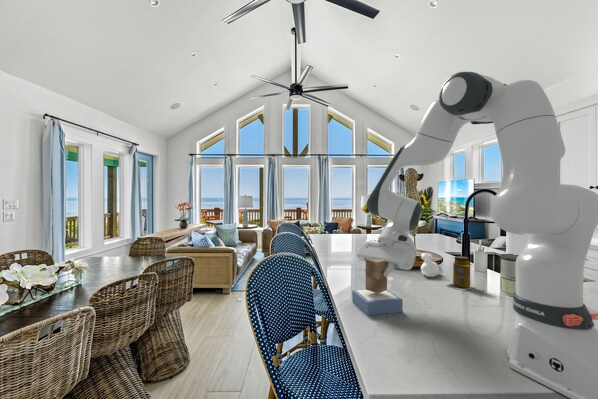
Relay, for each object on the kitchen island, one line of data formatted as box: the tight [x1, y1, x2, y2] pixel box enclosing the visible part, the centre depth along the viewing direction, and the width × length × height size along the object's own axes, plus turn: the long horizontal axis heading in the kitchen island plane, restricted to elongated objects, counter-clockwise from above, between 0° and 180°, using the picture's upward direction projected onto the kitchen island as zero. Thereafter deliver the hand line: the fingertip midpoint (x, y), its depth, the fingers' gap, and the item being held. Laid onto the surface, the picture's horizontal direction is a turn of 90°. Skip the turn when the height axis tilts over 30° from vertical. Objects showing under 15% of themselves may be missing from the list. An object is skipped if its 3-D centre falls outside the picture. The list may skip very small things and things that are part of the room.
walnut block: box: [365, 258, 388, 293], centre depth 95 cm, size 5×5×10 cm
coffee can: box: [499, 253, 518, 298], centre depth 106 cm, size 10×10×14 cm
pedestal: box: [351, 288, 404, 316], centre depth 95 cm, size 12×12×4 cm
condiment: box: [445, 255, 475, 291], centre depth 115 cm, size 7×8×12 cm
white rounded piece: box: [420, 252, 440, 278], centre depth 133 cm, size 12×8×11 cm
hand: (375, 274), depth 94 cm, fingers closed on walnut block, 5 cm apart
